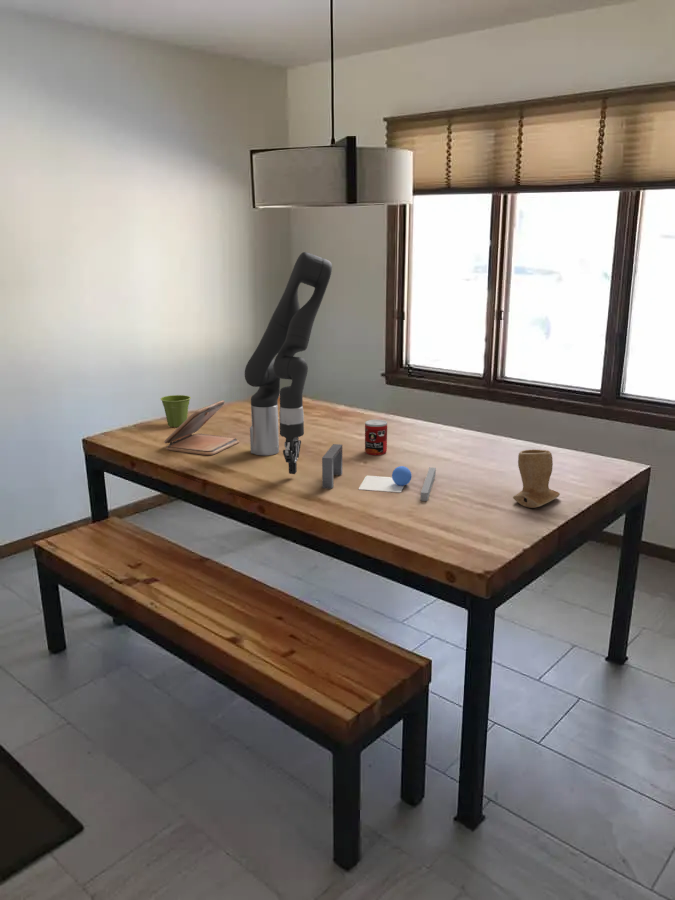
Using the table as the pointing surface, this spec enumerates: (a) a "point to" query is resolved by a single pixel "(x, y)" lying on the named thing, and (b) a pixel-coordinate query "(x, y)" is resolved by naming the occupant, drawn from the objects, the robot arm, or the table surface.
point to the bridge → (331, 465)
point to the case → (199, 442)
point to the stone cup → (535, 478)
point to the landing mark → (380, 484)
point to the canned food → (376, 437)
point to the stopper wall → (428, 484)
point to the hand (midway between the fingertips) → (292, 473)
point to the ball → (401, 475)
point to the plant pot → (176, 409)
